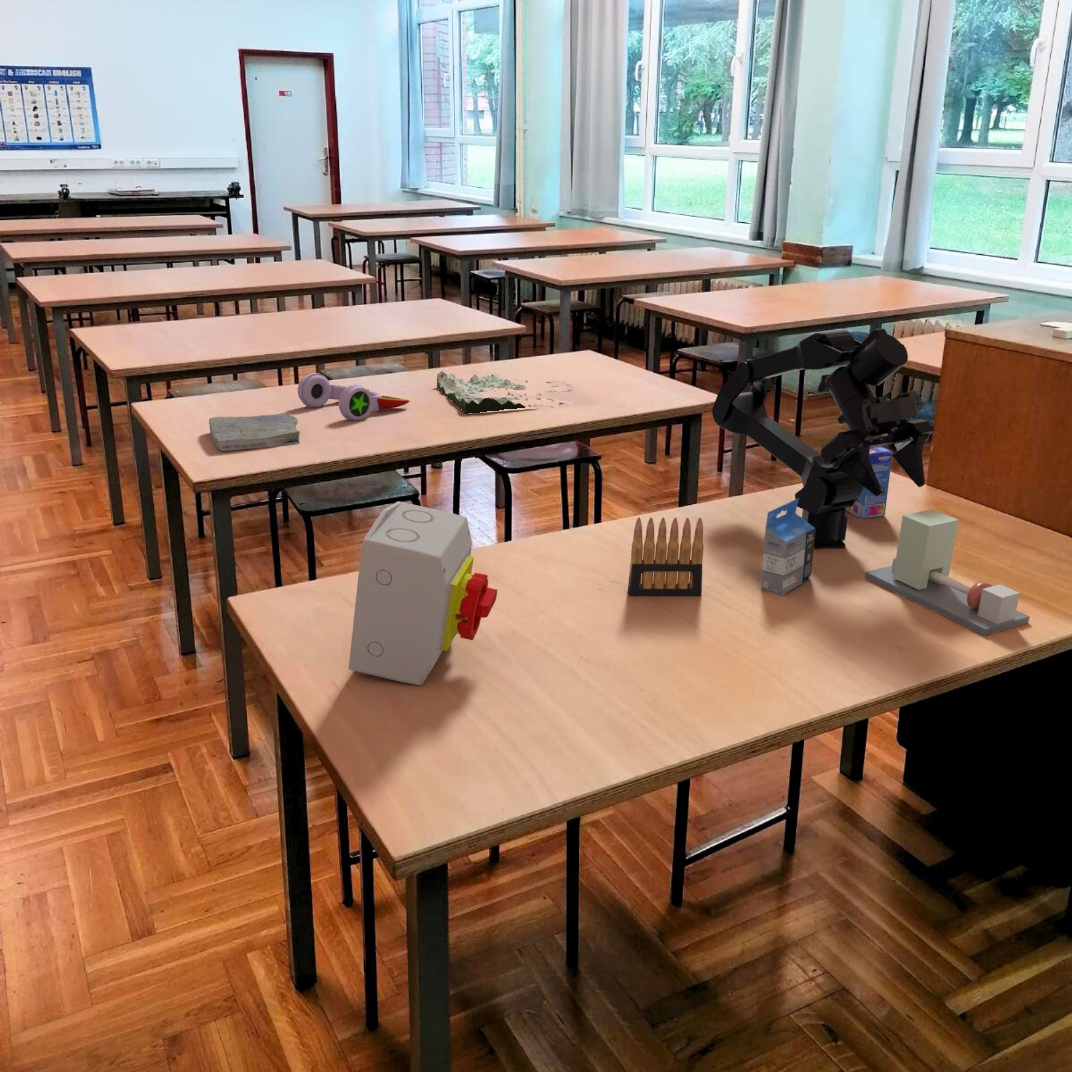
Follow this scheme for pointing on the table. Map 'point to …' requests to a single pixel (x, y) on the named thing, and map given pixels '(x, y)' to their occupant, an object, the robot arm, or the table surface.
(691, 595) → the ammunition clip
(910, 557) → the pale green upright block
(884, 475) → the ink cartridge box
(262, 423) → the fossil
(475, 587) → the electrical switch box
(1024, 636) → the table surface
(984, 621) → the grey rail base
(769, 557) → the label tape box
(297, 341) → the table surface
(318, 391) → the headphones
